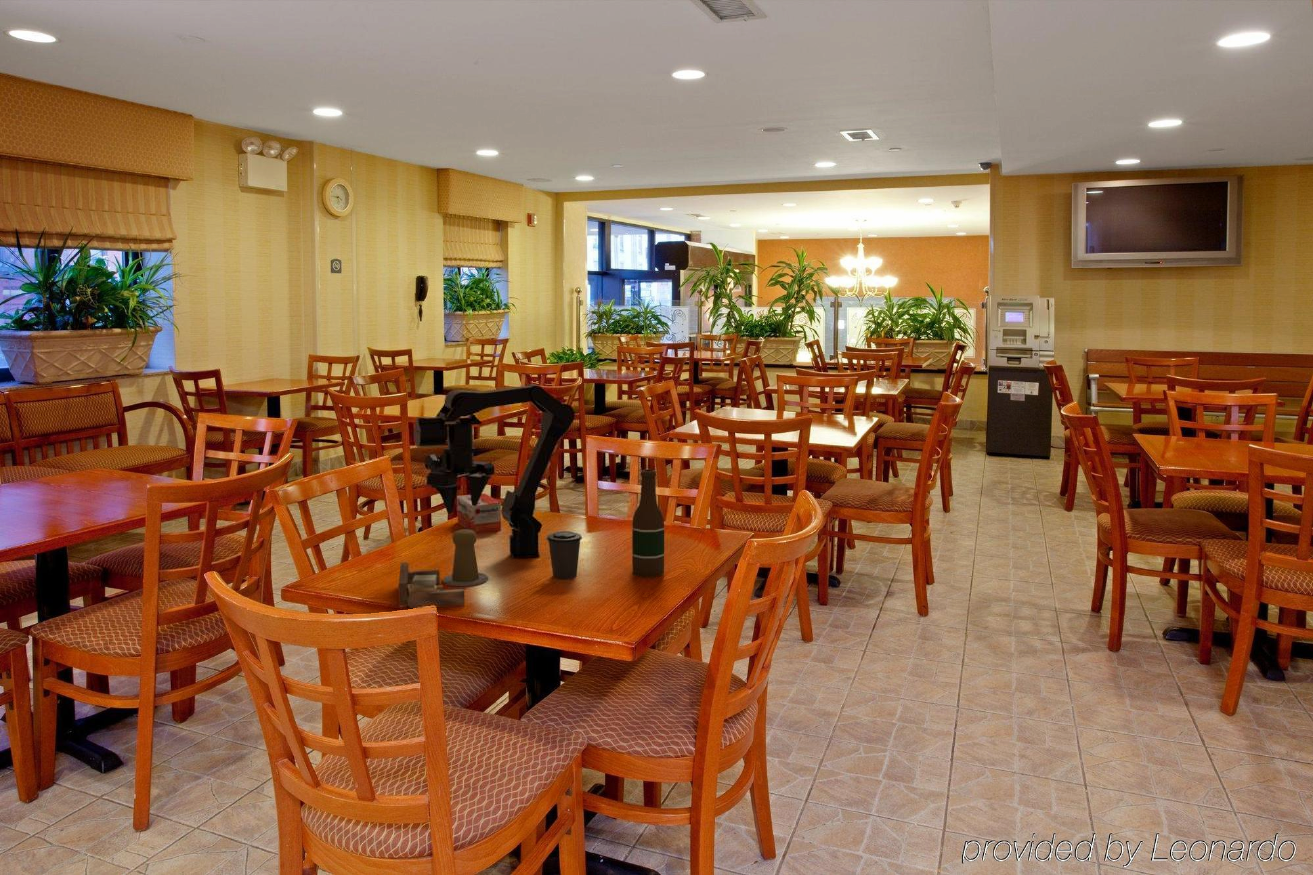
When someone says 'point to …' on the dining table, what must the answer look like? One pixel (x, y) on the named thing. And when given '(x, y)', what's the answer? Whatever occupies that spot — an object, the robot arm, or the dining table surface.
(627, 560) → the dining table surface
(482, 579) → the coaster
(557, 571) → the coffee cup
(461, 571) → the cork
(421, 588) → the rack
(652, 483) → the beer bottle
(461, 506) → the medicine box
